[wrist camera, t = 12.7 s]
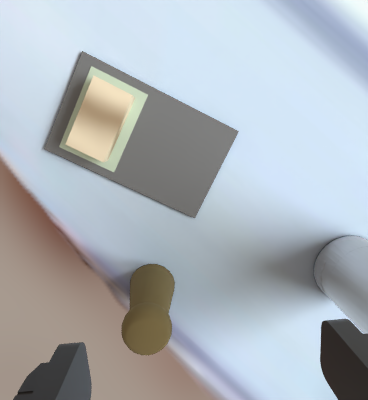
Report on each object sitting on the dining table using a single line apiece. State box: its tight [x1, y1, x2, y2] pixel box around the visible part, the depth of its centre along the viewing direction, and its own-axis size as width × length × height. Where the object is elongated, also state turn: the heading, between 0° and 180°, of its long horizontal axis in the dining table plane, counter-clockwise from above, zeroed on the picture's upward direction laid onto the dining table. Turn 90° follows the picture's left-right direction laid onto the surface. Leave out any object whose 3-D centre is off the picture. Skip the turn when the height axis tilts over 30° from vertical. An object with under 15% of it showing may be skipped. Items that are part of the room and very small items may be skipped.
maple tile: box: [65, 75, 135, 162], centre depth 33 cm, size 8×4×2 cm, turn 154°
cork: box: [122, 264, 175, 355], centre depth 34 cm, size 6×6×11 cm
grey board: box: [44, 51, 239, 218], centre depth 36 cm, size 20×12×1 cm, turn 64°
